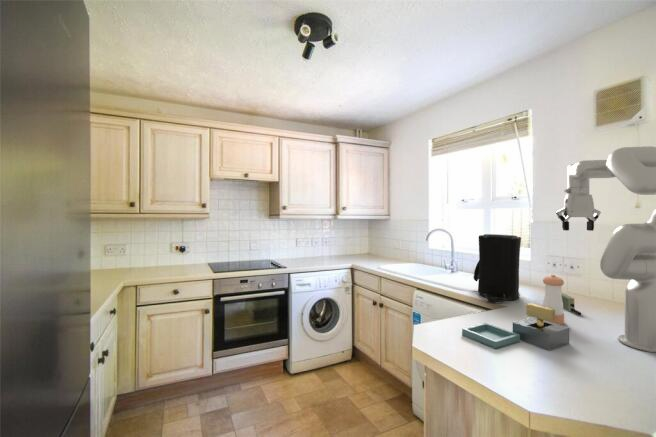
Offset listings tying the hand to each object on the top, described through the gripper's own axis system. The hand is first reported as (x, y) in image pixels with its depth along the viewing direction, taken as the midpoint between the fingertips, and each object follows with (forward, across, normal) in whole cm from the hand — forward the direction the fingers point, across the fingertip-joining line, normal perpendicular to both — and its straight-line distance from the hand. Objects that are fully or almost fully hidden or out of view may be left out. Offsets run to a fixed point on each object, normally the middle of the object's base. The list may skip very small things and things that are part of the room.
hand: (577, 230), depth 133 cm
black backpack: (+38, -24, +29) cm, 54 cm away
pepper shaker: (+38, -16, -11) cm, 42 cm away
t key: (+37, -32, -33) cm, 59 cm away
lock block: (+37, -32, -33) cm, 59 cm away
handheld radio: (+38, 0, +10) cm, 39 cm away
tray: (+37, -49, -34) cm, 70 cm away
